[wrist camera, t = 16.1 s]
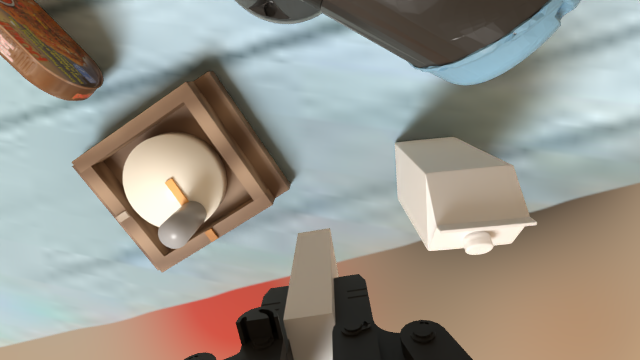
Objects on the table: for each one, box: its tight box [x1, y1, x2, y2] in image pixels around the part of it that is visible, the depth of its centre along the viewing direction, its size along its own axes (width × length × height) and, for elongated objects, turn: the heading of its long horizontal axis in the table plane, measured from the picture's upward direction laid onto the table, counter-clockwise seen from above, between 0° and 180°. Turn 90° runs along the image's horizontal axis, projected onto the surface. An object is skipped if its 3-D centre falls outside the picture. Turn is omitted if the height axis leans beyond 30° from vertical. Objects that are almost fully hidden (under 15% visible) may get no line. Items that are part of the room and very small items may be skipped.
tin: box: [0, 0, 103, 101], centre depth 40 cm, size 15×3×8 cm, turn 41°
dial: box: [123, 132, 227, 249], centre depth 41 cm, size 11×11×8 cm
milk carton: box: [395, 137, 537, 255], centre depth 38 cm, size 7×7×19 cm
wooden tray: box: [72, 71, 290, 272], centre depth 45 cm, size 16×20×5 cm
